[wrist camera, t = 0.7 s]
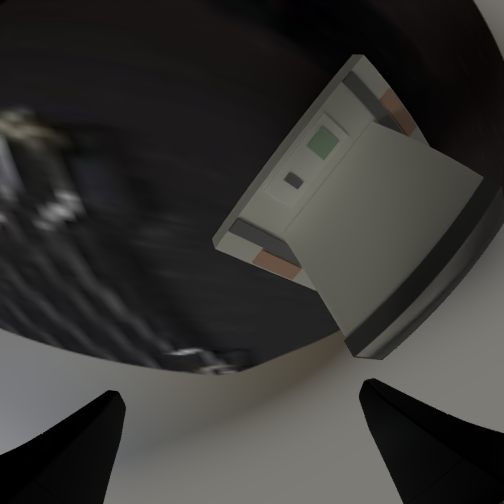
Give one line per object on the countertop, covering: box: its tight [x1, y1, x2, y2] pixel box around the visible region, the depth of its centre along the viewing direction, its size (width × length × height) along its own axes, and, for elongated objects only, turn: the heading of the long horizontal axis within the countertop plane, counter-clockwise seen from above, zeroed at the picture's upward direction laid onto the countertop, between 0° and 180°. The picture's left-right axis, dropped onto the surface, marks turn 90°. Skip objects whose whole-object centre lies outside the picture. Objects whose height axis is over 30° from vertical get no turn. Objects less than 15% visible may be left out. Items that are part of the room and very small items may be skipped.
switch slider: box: [282, 122, 504, 360], centre depth 14 cm, size 3×10×10 cm, turn 143°
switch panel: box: [212, 54, 430, 291], centre depth 20 cm, size 17×16×2 cm
